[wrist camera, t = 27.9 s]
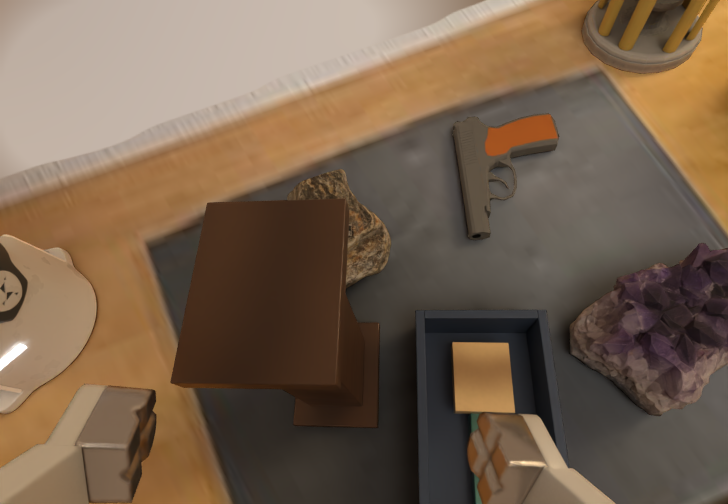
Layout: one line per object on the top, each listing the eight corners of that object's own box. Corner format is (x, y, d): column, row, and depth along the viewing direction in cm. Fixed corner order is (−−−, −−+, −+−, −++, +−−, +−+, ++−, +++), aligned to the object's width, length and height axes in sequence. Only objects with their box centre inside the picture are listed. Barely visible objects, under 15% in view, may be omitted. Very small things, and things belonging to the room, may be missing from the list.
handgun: (578, 231, 50) (466, 240, 50) (547, 118, 56) (450, 128, 57) (583, 224, 48) (468, 233, 49) (551, 108, 55) (451, 118, 56)
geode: (691, 227, 48) (771, 182, 39) (776, 320, 45) (884, 295, 36) (540, 324, 45) (587, 300, 36) (619, 433, 42) (693, 438, 32)
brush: (518, 531, 38) (527, 537, 35) (457, 528, 38) (460, 533, 35) (501, 351, 44) (508, 342, 41) (449, 350, 45) (452, 342, 42)
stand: (295, 426, 44) (169, 383, 22) (304, 325, 48) (206, 202, 26) (378, 428, 43) (336, 385, 21) (379, 325, 47) (346, 197, 25)
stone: (410, 281, 45) (330, 254, 39) (346, 319, 52) (268, 301, 46) (390, 178, 52) (319, 143, 46) (336, 223, 59) (268, 197, 53)
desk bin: (419, 552, 39) (420, 566, 33) (415, 327, 47) (415, 309, 42) (562, 560, 37) (585, 575, 32) (531, 327, 46) (546, 309, 40)
